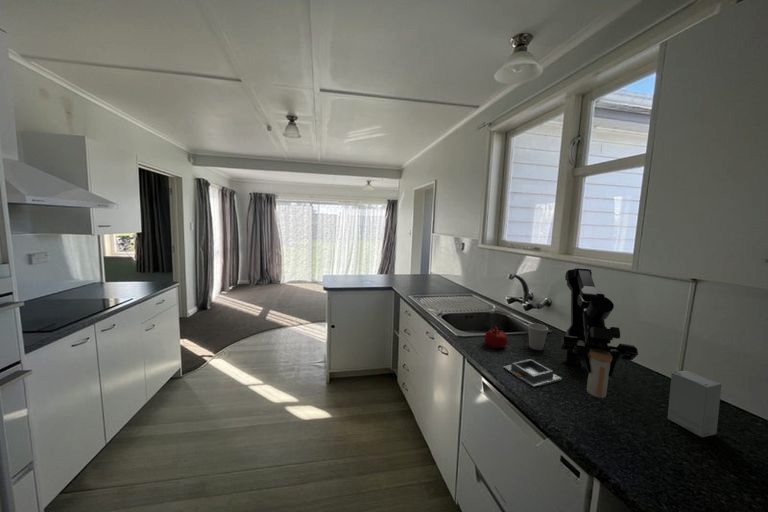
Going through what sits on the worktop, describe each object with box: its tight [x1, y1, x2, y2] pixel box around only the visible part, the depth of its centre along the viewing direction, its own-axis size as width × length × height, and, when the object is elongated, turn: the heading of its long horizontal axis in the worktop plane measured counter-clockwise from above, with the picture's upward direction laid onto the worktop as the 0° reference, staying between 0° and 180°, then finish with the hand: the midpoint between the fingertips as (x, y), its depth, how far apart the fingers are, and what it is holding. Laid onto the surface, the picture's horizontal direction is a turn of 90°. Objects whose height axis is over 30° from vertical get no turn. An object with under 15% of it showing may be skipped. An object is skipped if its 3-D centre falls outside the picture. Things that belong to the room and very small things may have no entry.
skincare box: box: [667, 370, 722, 438], centre depth 81 cm, size 8×6×15 cm
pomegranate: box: [484, 326, 509, 349], centre depth 131 cm, size 10×10×9 cm
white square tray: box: [502, 358, 563, 388], centre depth 108 cm, size 14×14×3 cm
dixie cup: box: [527, 322, 549, 351], centre depth 130 cm, size 8×8×10 cm
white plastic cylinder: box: [586, 349, 612, 399], centre depth 86 cm, size 6×5×12 cm
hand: (599, 374), depth 85 cm, fingers closed on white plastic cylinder, 5 cm apart
